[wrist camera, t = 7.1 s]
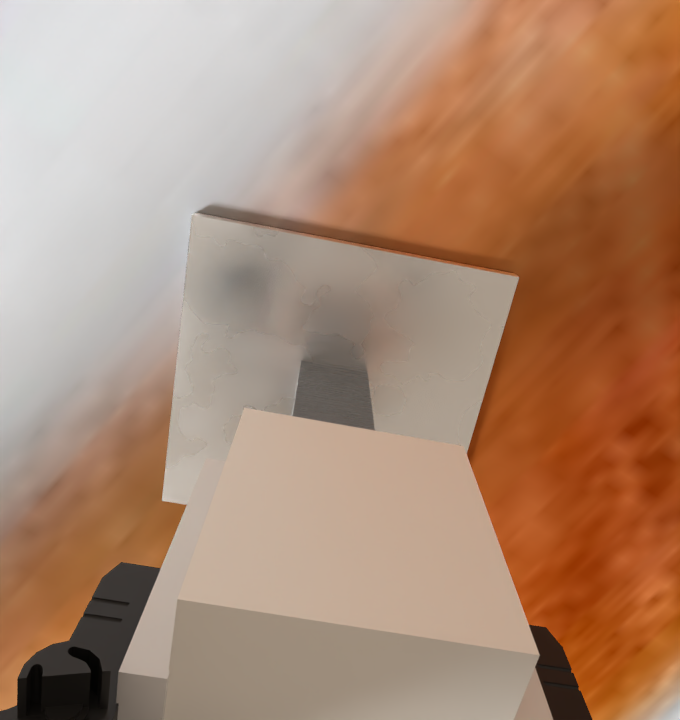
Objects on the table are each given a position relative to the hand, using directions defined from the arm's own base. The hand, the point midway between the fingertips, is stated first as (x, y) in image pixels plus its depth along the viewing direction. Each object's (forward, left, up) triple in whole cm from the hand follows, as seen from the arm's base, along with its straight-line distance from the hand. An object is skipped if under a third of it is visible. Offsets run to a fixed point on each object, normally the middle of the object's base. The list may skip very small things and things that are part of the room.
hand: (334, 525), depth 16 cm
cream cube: (0, 0, 0) cm, 0 cm away
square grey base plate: (0, 0, -9) cm, 9 cm away
